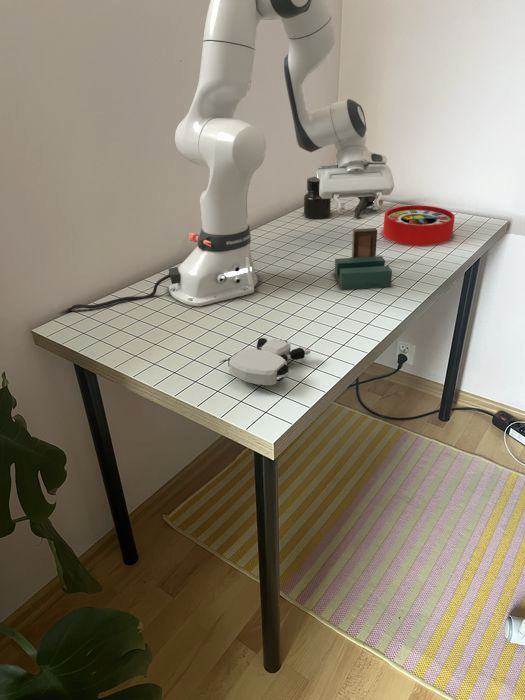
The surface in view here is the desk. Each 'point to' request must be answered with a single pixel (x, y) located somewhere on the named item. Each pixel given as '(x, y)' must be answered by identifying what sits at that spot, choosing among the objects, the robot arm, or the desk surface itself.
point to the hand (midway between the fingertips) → (358, 209)
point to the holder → (362, 272)
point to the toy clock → (418, 225)
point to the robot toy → (264, 361)
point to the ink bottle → (315, 201)
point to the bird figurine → (364, 204)
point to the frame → (364, 242)
